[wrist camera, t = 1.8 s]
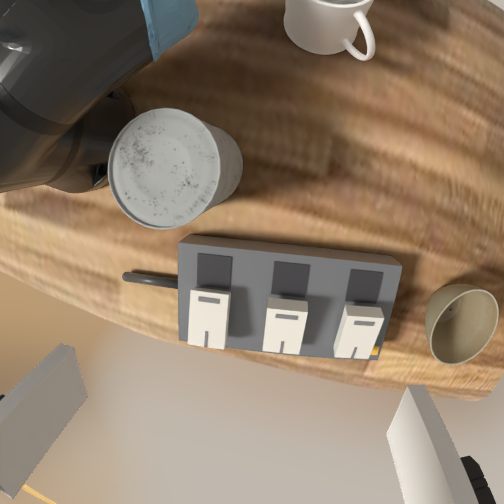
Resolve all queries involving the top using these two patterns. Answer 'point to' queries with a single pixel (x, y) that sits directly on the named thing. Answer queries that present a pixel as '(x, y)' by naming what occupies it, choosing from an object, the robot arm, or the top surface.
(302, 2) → the mug
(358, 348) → the rocker
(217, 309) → the rocker
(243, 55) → the top surface
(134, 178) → the grey concrete cylinder
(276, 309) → the block
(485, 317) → the flower pot
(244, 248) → the power strip
